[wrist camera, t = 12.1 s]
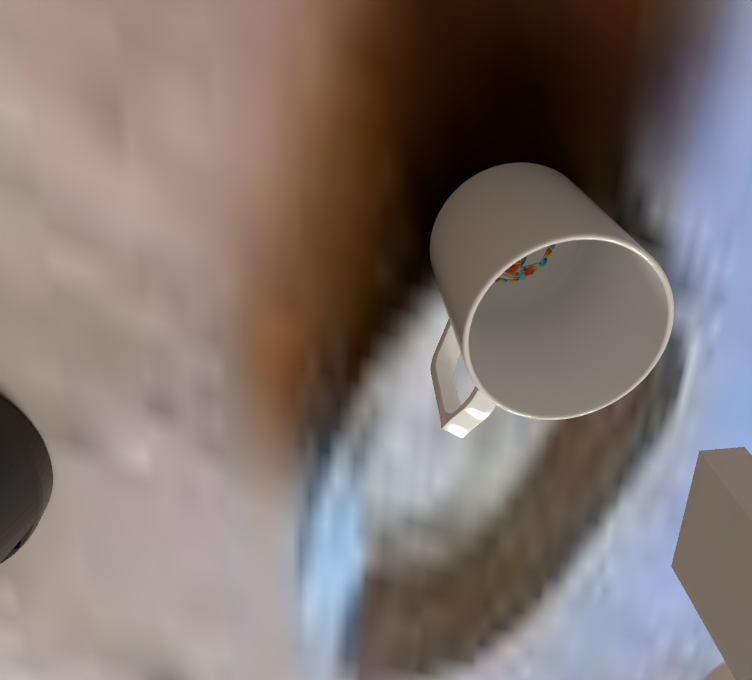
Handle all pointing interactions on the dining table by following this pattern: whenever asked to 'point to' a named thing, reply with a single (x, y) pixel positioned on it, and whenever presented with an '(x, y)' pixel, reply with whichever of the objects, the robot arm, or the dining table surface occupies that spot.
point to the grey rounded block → (541, 299)
